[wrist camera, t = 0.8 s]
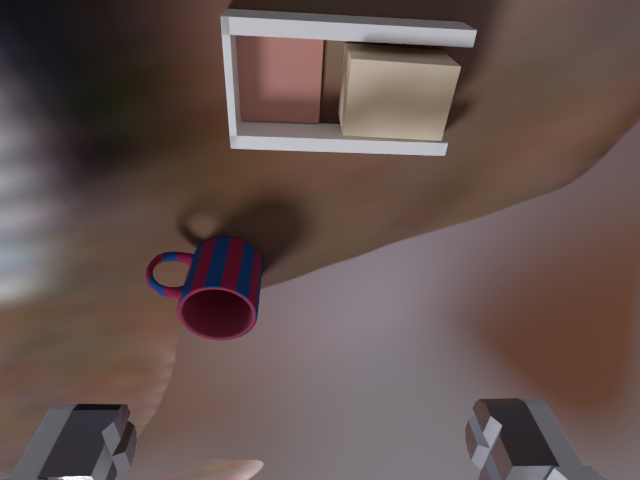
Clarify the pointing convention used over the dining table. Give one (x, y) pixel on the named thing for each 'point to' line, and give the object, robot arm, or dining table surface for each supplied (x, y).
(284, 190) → the dining table surface
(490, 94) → the dining table surface
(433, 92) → the block
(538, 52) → the dining table surface
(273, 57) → the white u-shaped frame
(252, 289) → the mug
